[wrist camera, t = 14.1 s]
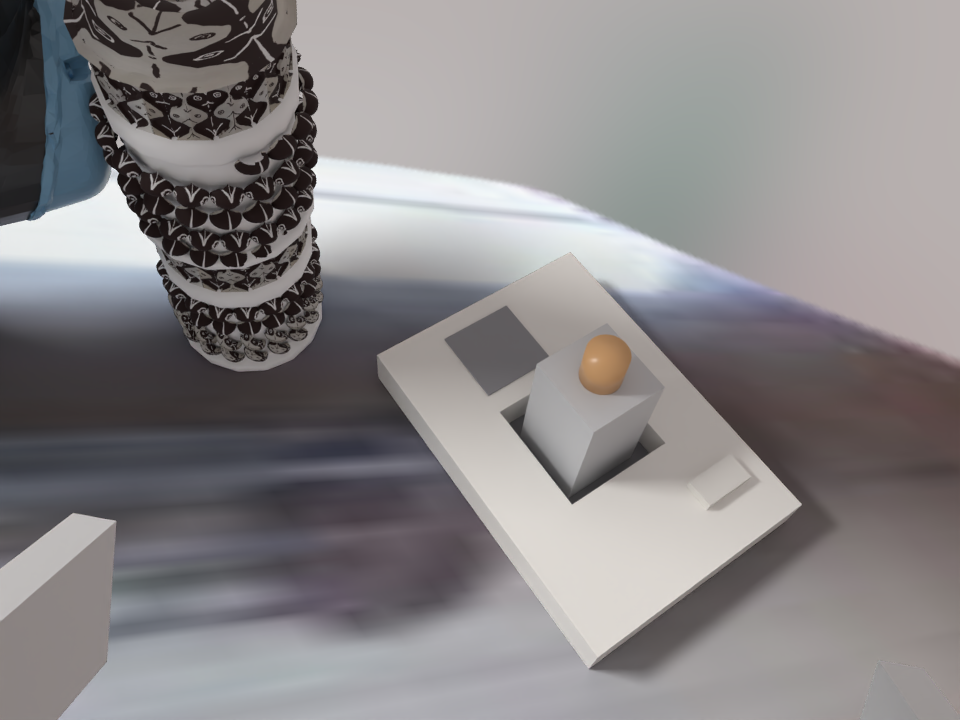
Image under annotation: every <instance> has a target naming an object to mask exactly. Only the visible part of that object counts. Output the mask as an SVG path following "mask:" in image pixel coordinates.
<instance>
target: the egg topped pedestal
mask: <svg viewBox="0 0 960 720" xmlns="http://www.w3.org/2000/svg"><path fill="white" fill-rule="evenodd" d="M664 388H665V387H664V386H663V385H662V383H661V382H660V381H659V380H658V379H657V378H656V377H655V376H654V375H653V373H652V372H651V371H650V370H649V369H648V368H647V367H646V366H645V365H644V363H643V362H642V361H641V360H640V359H639V358H638V357H637V356H636V355H635V353H634V352H633V351H632V350H631V349H630V348H629V346H628V345H627V344H626V343H625V342H624V341H623V340H622V339H621V338H620V337H619V336H618V335H617V333H616V332H615V331H614V330H613V329H612V328H611V327H610V326H609V325H608V323H606V324H604V325H603V326H601V327H599V328H598V329H596V330H594V331H592V332H591V333H589V334H587V335H585V336H584V337H582V338H580V339H579V340H577V341H575V342H573V343H572V344H570V345H568V346H567V347H565V348H563V349H561V350H560V351H558V352H556V353H554V354H553V355H551V356H549V357H548V358H546V359H544V360H542V361H541V362H539V363H537V365H536V370H535V374H534V378H533V383H532V387H531V392H530V396H529V400H528V405H527V409H526V414H525V418H524V422H523V427H522V431H521V435H520V437H521V438H522V439H523V441H524V442H525V443H526V444H527V446H528V447H529V448H530V450H531V451H532V452H533V453H534V455H535V456H536V457H537V459H538V460H539V461H540V462H541V464H542V465H543V466H544V467H545V469H546V470H547V471H548V473H549V474H550V475H551V476H552V478H553V479H554V480H555V481H556V483H557V484H558V485H559V487H560V488H561V489H562V490H563V492H564V493H565V494H566V495H567V497H568V498H569V497H571V496H572V495H574V494H575V493H577V492H578V491H580V490H581V489H583V488H585V487H586V486H588V485H589V484H591V483H592V482H594V481H595V480H597V479H598V478H600V477H601V476H603V475H604V474H606V473H607V472H609V471H610V470H612V469H613V468H615V467H616V466H618V465H619V464H621V463H622V462H624V461H626V460H627V459H629V458H630V457H631V455H632V453H633V451H634V449H635V447H636V445H637V443H638V441H639V439H640V437H641V435H642V433H643V431H644V429H645V427H646V425H647V423H648V421H649V419H650V417H651V415H652V413H653V411H654V409H655V407H656V405H657V402H658V400H659V398H660V396H661V394H662V392H663V390H664Z"/></svg>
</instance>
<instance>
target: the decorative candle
mask: <svg viewBox="0 0 960 720" xmlns="http://www.w3.org/2000/svg"><path fill="white" fill-rule="evenodd" d="M296 11H297V9H296V0H65V8H64V17H63V21H64V23H65V25H66V28H67V30H68V32H69V34H70V36H71V38H72V40H73V43H74V45H75V47H76V49H77V51H78V53H79V54H80V55H82V56H83V57H84V58H86V59H87V60H88V61H89V62H90V65H91V67H92V69H91V81H92V84H93V86H94V89H95V91H96V92H95V93H94V94H93V95H92V96H91V98H90V100H89V111H90V114H91V116H92V117H93V118H94V119H95V120H96V121H98V122H99V123H98V124H97V126H96V127H95V132H94V133H95V138H96V141H97V143H98V144H99V145H100V146H101V147H102V148H103V156H104V159H105V161H106V162H107V163H108V164H109V165H110V166H111V167H112V168H114V169H116V170H117V171H118V172H119V175H118V178H117V181H118V184H119V186H120V188H121V191H122V192H123V194H124V195H125V196H126V200H127V204H128V206H129V208H130V209H131V210H132V211H133V212H134V213H136V214H137V216H138V217H139V219H140V223H139V227H140V229H141V231H142V232H143V233H144V234H145V235H147V237H148V238H149V239H150V240H151V241H152V242H153V243H155V245H156V249H157V252H158V254H159V256H160V258H161V260H160V261H159V262H158V263H157V265H156V267H157V271H158V273H159V274H160V276H162V277H163V278H164V279H163V285H164V287H165V289H166V290H167V292H168V293H169V294H168V299H169V302H170V304H171V306H172V307H173V308H174V314H175V316H176V318H177V319H178V321H179V323H180V324H181V325H182V327H183V332H184V335H185V336H186V337H187V338H188V340H189V343H190V345H191V346H192V347H193V348H194V349H195V350H196V351H198V352H199V353H200V354H201V355H202V356H203V357H205V358H206V359H207V360H208V361H209V362H210V363H212V364H216V365H219V366H222V367H225V368H228V369H231V370H234V371H237V372H244V371H266V370H269V369H272V368H274V367H276V366H279V365H281V364H284V363H286V362H288V361H291V360H293V359H294V358H295V357H296V356H297V355H298V354H299V353H300V352H302V351H303V350H304V349H305V348H306V347H307V346H308V345H309V344H310V343H311V342H312V341H313V339H314V336H315V334H316V332H317V329H318V327H319V325H320V322H321V320H322V301H323V294H322V292H321V291H320V290H321V288H322V286H323V283H322V280H321V277H320V271H321V266H320V262H319V261H318V260H319V257H320V250H319V248H318V246H317V244H316V243H315V242H314V241H315V240H316V238H317V231H316V229H315V227H314V226H313V225H312V224H311V219H310V215H311V213H312V211H313V209H314V198H313V189H314V187H315V185H316V175H315V173H314V172H313V171H312V170H311V168H313V167H314V166H315V165H316V163H317V160H318V155H317V152H316V150H315V149H314V148H313V145H312V143H313V142H314V138H315V137H316V133H317V129H316V125H315V123H314V121H313V120H312V118H311V115H313V114H314V113H315V112H316V110H317V108H318V99H317V96H316V95H315V93H314V92H313V91H311V89H312V87H313V78H312V76H311V74H310V73H309V72H308V71H307V70H306V69H304V68H302V67H298V62H299V61H300V56H301V54H299V53H297V50H296V49H295V48H294V46H293V44H292V42H291V35H292V33H293V31H294V29H295V27H296V25H297V12H296ZM300 91H301V92H302V93H303V98H301V97H299V92H300ZM118 135H119V136H120V139H121V141H122V142H123V143H124V145H123V146H121V147H120V148H118V147H117V144H116V140H117V138H118ZM297 140H298V142H297Z"/></svg>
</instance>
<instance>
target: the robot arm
mask: <svg viewBox="0 0 960 720" xmlns="http://www.w3.org/2000/svg"><path fill="white" fill-rule="evenodd" d="M64 8H65V0H0V226H2V225H7V224H11V223H15V222H19V221H24V220H29V221H31V220H36V219H38V218H40V217H41V216H43V215H44V214H45V212H49V211H52V210H55V209H58V208H61V207H65V206H68V205H71V204H74V203H78V202H81V201H84V200H87V199H90V198H92V197H94V196H95V195H97V194H98V193H100V192H101V191H102V190H103V189H104V187H105V186H106V184H107V182H108V180H109V178H110V174H111V166H110V165H109V164H108V163H107V162H106V161H105V159H104V156H103V148H102V147H101V146H100V145H99V144H98V143H97V141H96V138H95V133H94V132H95V127H96V126H97V124H98V123H99V122H98V121H96V120H95V119H94V118H93V117H92V116H91V114H90V111H89V100H90V98H91V96H92V95H93V94H94V93H95V92H96V91H95V89H94V86H93V84H92V81H91V70H90V69H89V65H88V62H89V61H88V60H87V59H86V58H84V57H83V56H82V55H80V54H79V53H78V51H77V49H76V47H75V45H74V43H73V40H72V38H71V36H70V34H69V32H68V30H67V28H66V25H65V23H64V21H63V17H64ZM115 534H116V521H114V520H108V519H103V518H97V517H92V516H86V515H81V514H75V513H72V514H71V515H70V516H69V517H67V518H66V519H65V520H63V521H62V522H61V523H59V524H58V525H57V526H56V527H54V528H53V529H52V530H50V531H49V532H48V533H46V534H45V535H44V536H43V537H41V538H40V539H39V540H37V541H36V542H35V543H33V544H32V545H31V546H30V547H28V548H27V549H26V550H24V551H23V552H22V553H20V554H19V555H18V556H17V557H15V558H14V559H13V560H11V561H10V562H9V563H7V564H6V565H5V566H4V567H2V568H1V569H0V720H57V719H58V718H59V717H60V716H61V715H62V714H63V712H64V711H65V710H66V709H67V708H68V707H69V705H70V704H71V703H72V702H73V701H74V699H75V698H76V697H77V696H78V695H79V694H80V692H81V691H82V690H83V689H84V688H85V687H86V685H87V684H88V683H89V682H90V681H91V680H92V678H93V677H94V676H95V675H96V674H97V673H98V671H99V670H100V669H101V668H102V667H103V665H104V664H105V663H106V662H107V652H108V637H109V623H110V608H111V593H112V578H113V563H114V548H115ZM860 720H960V715H959V714H958V713H957V711H956V710H955V709H954V707H953V706H952V705H951V703H950V702H949V701H948V699H947V698H946V697H945V695H944V694H943V693H942V691H941V690H940V689H939V687H938V686H937V685H936V683H935V682H934V681H933V679H932V678H931V677H930V675H929V674H928V673H927V671H926V670H925V669H924V668H921V667H915V666H910V665H904V664H899V663H893V662H888V661H882V660H878V663H877V666H876V669H875V672H874V676H873V679H872V682H871V685H870V689H869V692H868V695H867V698H866V701H865V705H864V708H863V711H862V714H861V718H860Z"/></svg>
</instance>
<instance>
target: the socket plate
mask: <svg viewBox="0 0 960 720" xmlns="http://www.w3.org/2000/svg"><path fill="white" fill-rule="evenodd" d="M606 323H608V325H609V326H610V327H611V328H612V329H613V330H614V331H615V332H616V333H617V335H618V336H619V337H620V338H621V339H622V340H623V341H624V342H625V343H626V344H627V345H628V346H629V348H630V349H631V350H632V351H633V352H634V353H635V355H636V356H637V357H638V358H639V359H640V360H641V361H642V362H643V363H644V365H645V366H646V367H647V368H648V369H649V370H650V371H651V372H652V373H653V375H654V376H655V377H656V378H657V379H658V380H659V381H660V382H661V383H662V385H663V386H664V387H665V388H664V390H663V392H662V394H661V396H660V398H659V400H658V402H657V405H656V407H655V409H654V411H653V413H652V415H651V417H650V419H649V421H648V423H647V425H646V427H645V429H644V431H643V433H642V435H641V437H640V439H639V441H638V443H637V445H636V447H635V449H634V451H633V453H632V455H631V457H630V458H629V459H627V460H626V461H624V462H622V463H621V464H619V465H618V466H616V467H615V468H613V469H612V470H610V471H609V472H607V473H606V474H604V475H603V476H601V477H600V478H598V479H597V480H595V481H594V482H592V483H591V484H589V485H588V486H586V487H585V488H583V489H581V490H580V491H578V492H577V493H575V494H574V495H572V496H571V497H569V498H568V497H567V495H566V494H565V493H564V492H563V490H562V489H561V488H560V487H559V485H558V484H557V483H556V481H555V480H554V479H553V478H552V476H551V475H550V474H549V473H548V471H547V470H546V469H545V467H544V466H543V465H542V464H541V462H540V461H539V460H538V459H537V457H536V456H535V455H534V453H533V452H532V451H531V450H530V448H529V447H528V446H527V444H526V443H525V442H524V441H523V439H522V438H521V437H520V435H521V431H522V427H523V422H524V418H525V414H526V409H527V405H528V400H529V396H530V392H531V387H532V383H533V378H534V374H535V370H536V365H537V363H539V362H541V361H542V360H544V359H546V358H548V357H549V356H551V355H553V354H554V353H556V352H558V351H560V350H561V349H563V348H565V347H567V346H568V345H570V344H572V343H573V342H575V341H577V340H579V339H580V338H582V337H584V336H585V335H587V334H589V333H591V332H592V331H594V330H596V329H598V328H599V327H601V326H603V325H604V324H606ZM377 366H378V378H379V379H380V381H381V382H382V383H383V385H384V386H385V387H386V389H387V390H388V392H389V393H390V394H391V396H392V397H393V399H394V400H395V401H396V403H397V404H398V405H399V407H400V408H401V410H402V411H403V412H404V414H405V415H406V417H407V418H408V419H409V421H410V422H411V424H412V425H413V426H414V428H415V429H416V430H417V432H418V433H419V435H420V436H421V437H422V439H423V440H424V442H425V443H426V444H427V446H428V447H429V448H430V450H431V451H432V453H433V454H434V455H435V457H436V458H437V460H438V461H439V462H440V464H441V465H442V467H443V468H444V469H445V471H446V472H447V473H448V475H449V476H450V478H451V479H452V480H453V482H454V483H455V485H456V486H457V487H458V489H459V490H460V491H461V493H462V494H463V496H464V497H465V498H466V500H467V501H468V503H469V504H470V505H471V507H472V508H473V510H474V511H475V512H476V514H477V515H478V516H479V518H480V519H481V521H482V522H483V523H484V525H485V526H486V528H487V529H488V530H489V532H490V533H491V534H492V536H493V537H494V539H495V540H496V541H497V543H498V544H499V546H500V547H501V548H502V550H503V551H504V553H505V554H506V555H507V557H508V558H509V559H510V561H511V562H512V564H513V565H514V566H515V568H516V569H517V571H518V572H519V573H520V575H521V576H522V577H523V579H524V580H525V582H526V583H527V584H528V586H529V587H530V589H531V590H532V591H533V593H534V594H535V596H536V597H537V598H538V600H539V601H540V602H541V604H542V605H543V607H544V608H545V609H546V611H547V612H548V614H549V615H550V616H551V618H552V619H553V620H554V622H555V623H556V625H557V626H558V627H559V629H560V630H561V632H562V633H563V634H564V636H565V637H566V639H567V640H568V641H569V643H570V644H571V645H572V647H573V648H574V650H575V651H576V652H577V654H578V655H579V657H580V658H581V659H582V661H583V662H584V663H585V665H586V666H587V668H588V669H589V668H591V667H592V666H593V665H595V664H596V663H597V662H599V661H600V660H601V659H603V658H604V657H605V656H607V655H608V654H609V653H611V652H612V651H613V650H615V649H616V648H617V647H619V646H620V645H621V644H623V643H624V642H625V641H627V640H628V639H629V638H631V637H632V636H633V635H635V634H636V633H637V632H639V631H640V630H641V629H643V628H644V627H645V626H647V625H648V624H649V623H651V622H652V621H653V620H655V619H656V618H657V617H659V616H660V615H661V614H663V613H664V612H665V611H667V610H668V609H669V608H671V607H672V606H673V605H675V604H676V603H677V602H679V601H680V600H681V599H683V598H684V597H685V596H687V595H688V594H689V593H691V592H692V591H693V590H695V589H696V588H697V587H699V586H700V585H701V584H703V583H704V582H705V581H707V580H708V579H709V578H711V577H712V576H713V575H715V574H716V573H717V572H719V571H720V570H721V569H723V568H724V567H725V566H727V565H728V564H729V563H731V562H732V561H733V560H735V559H736V558H737V557H739V556H740V555H741V554H743V553H744V552H745V551H747V550H748V549H749V548H751V547H752V546H753V545H755V544H756V543H757V542H759V541H760V540H761V539H763V538H764V537H765V536H767V535H768V534H769V533H771V532H772V531H773V530H775V529H776V528H777V527H779V526H780V525H781V524H783V523H784V522H785V521H786V520H787V519H788V518H789V517H790V516H791V515H792V514H793V513H794V512H795V511H796V510H797V509H798V508H799V507H800V506H801V505H802V504H801V503H800V502H799V501H798V500H797V499H796V498H795V496H794V495H793V494H792V493H791V492H790V491H789V490H788V489H787V488H786V487H785V486H784V484H783V483H782V482H781V481H780V480H779V479H778V478H777V477H776V476H775V475H774V474H773V472H772V471H771V470H770V469H769V468H768V467H767V466H766V465H765V464H764V463H763V462H762V460H761V459H760V458H759V457H758V456H757V455H756V454H755V453H754V452H753V451H752V450H751V448H750V447H749V446H748V445H747V444H746V443H745V442H744V441H743V440H742V439H741V438H740V436H739V435H738V434H737V433H736V432H735V431H734V430H733V429H732V428H731V427H730V426H729V424H728V423H727V422H726V421H725V420H724V419H723V418H722V417H721V416H720V415H719V414H718V412H717V411H716V410H715V409H714V408H713V407H712V406H711V405H710V404H709V403H708V402H707V400H706V399H705V398H704V397H703V396H702V395H701V394H700V393H699V392H698V391H697V390H696V388H695V387H694V386H693V385H692V384H691V383H690V382H689V381H688V380H687V379H686V378H685V376H684V375H683V374H682V373H681V372H680V371H679V370H678V369H677V368H676V367H675V366H674V364H673V363H672V362H671V361H670V360H669V359H668V358H667V357H666V356H665V355H664V354H663V352H662V351H661V350H660V349H659V348H658V347H657V346H656V345H655V344H654V343H653V342H652V340H651V339H650V338H649V337H648V336H647V335H646V334H645V333H644V332H643V331H642V329H641V328H640V327H639V326H638V325H637V324H636V323H635V322H634V321H633V320H632V319H631V317H630V316H629V315H628V314H627V313H626V312H625V311H624V310H623V309H622V308H621V307H620V305H619V304H618V303H617V302H616V301H615V300H614V299H613V298H612V297H611V296H610V295H609V293H608V292H607V291H606V290H605V289H604V288H603V287H602V286H601V285H600V284H599V283H598V281H597V280H596V279H595V278H594V277H593V276H592V275H591V274H590V273H589V272H588V271H587V269H586V268H585V267H584V266H583V265H582V264H581V263H580V262H579V261H578V260H577V259H576V257H575V256H574V255H573V254H572V253H571V252H570V253H568V254H566V255H564V256H562V257H560V258H558V259H557V260H555V261H553V262H551V263H549V264H547V265H545V266H543V267H542V268H540V269H538V270H536V271H534V272H532V273H530V274H528V275H527V276H525V277H523V278H521V279H519V280H517V281H515V282H513V283H512V284H510V285H508V286H506V287H504V288H502V289H500V290H498V291H496V292H495V293H493V294H491V295H489V296H487V297H485V298H483V299H481V300H480V301H478V302H476V303H474V304H472V305H470V306H468V307H466V308H465V309H463V310H461V311H459V312H457V313H455V314H453V315H451V316H450V317H448V318H446V319H444V320H442V321H440V322H438V323H436V324H434V325H433V326H431V327H429V328H427V329H425V330H423V331H421V332H419V333H418V334H416V335H414V336H412V337H410V338H408V339H406V340H404V341H403V342H401V343H399V344H397V345H395V346H393V347H391V348H389V349H388V350H386V351H384V352H382V353H380V354H378V355H377Z"/></svg>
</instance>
